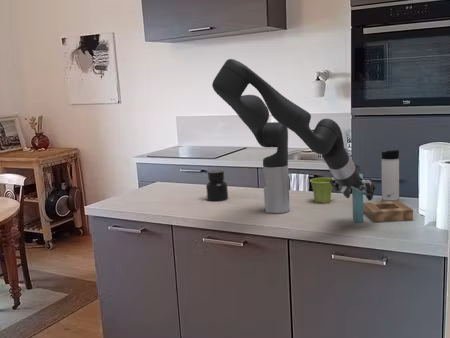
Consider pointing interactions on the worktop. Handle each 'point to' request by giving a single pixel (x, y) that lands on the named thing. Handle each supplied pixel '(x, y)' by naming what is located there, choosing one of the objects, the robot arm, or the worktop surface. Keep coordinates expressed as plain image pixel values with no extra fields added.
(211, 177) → the ink bottle
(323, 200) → the plant pot
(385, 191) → the travel mug
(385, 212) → the socket block
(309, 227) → the worktop surface
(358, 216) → the dowel
